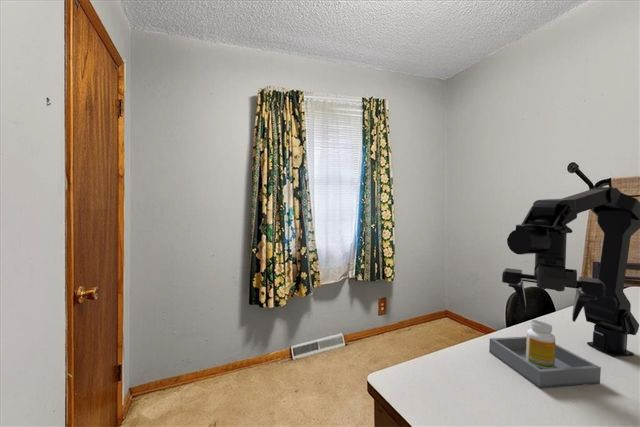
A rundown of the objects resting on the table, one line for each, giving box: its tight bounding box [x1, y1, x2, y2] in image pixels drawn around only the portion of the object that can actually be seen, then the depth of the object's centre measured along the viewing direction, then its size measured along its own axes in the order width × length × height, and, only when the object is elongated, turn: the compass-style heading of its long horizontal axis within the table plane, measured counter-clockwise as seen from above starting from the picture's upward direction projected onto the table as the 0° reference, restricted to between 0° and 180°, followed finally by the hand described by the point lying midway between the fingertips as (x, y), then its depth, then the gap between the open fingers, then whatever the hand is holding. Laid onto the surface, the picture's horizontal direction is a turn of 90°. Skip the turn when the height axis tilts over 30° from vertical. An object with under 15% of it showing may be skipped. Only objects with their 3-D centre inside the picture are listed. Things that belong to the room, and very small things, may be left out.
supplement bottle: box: [526, 319, 556, 369], centre depth 67 cm, size 5×5×10 cm
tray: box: [488, 335, 602, 389], centre depth 67 cm, size 15×15×4 cm
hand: (548, 316), depth 68 cm, fingers open, 9 cm apart
